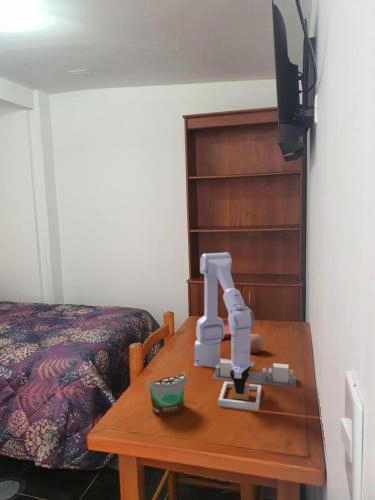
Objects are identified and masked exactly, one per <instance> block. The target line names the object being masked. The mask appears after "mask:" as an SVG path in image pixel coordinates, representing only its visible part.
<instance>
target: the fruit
mask: <svg viewBox="0 0 375 500" xmlns="http://www.w3.org/2000/svg"><path fill="white" fill-rule="evenodd" d="M264 343H265V342H264V339H263V337H262V336H261V334H259V333H258V334H257V333H254V334H253V333H250V354H253V355H256V354H259V353H260V352H262V350H263V349H264V346H265V345H264Z"/></svg>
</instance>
